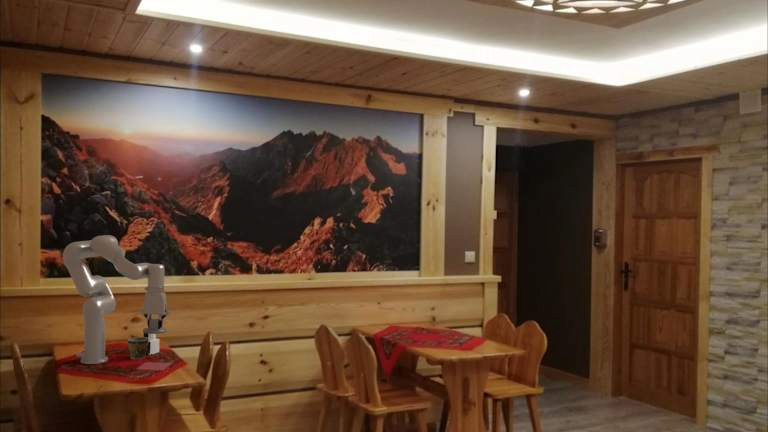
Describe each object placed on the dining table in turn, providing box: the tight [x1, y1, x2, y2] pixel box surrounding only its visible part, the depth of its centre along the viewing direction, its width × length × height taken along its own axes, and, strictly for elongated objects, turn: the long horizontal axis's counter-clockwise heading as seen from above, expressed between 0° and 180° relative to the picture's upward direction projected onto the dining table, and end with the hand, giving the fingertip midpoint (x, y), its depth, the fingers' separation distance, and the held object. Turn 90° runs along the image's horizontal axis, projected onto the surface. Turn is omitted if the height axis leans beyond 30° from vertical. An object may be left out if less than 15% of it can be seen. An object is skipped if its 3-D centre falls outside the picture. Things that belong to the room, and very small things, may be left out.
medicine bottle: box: [143, 333, 160, 356], centre depth 353 cm, size 7×7×12 cm
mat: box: [136, 361, 173, 371], centre depth 326 cm, size 13×13×1 cm
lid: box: [142, 317, 168, 335], centre depth 325 cm, size 11×11×6 cm
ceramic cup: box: [127, 336, 149, 361], centre depth 339 cm, size 13×10×10 cm
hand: (154, 327), depth 325 cm, fingers closed on lid, 4 cm apart
